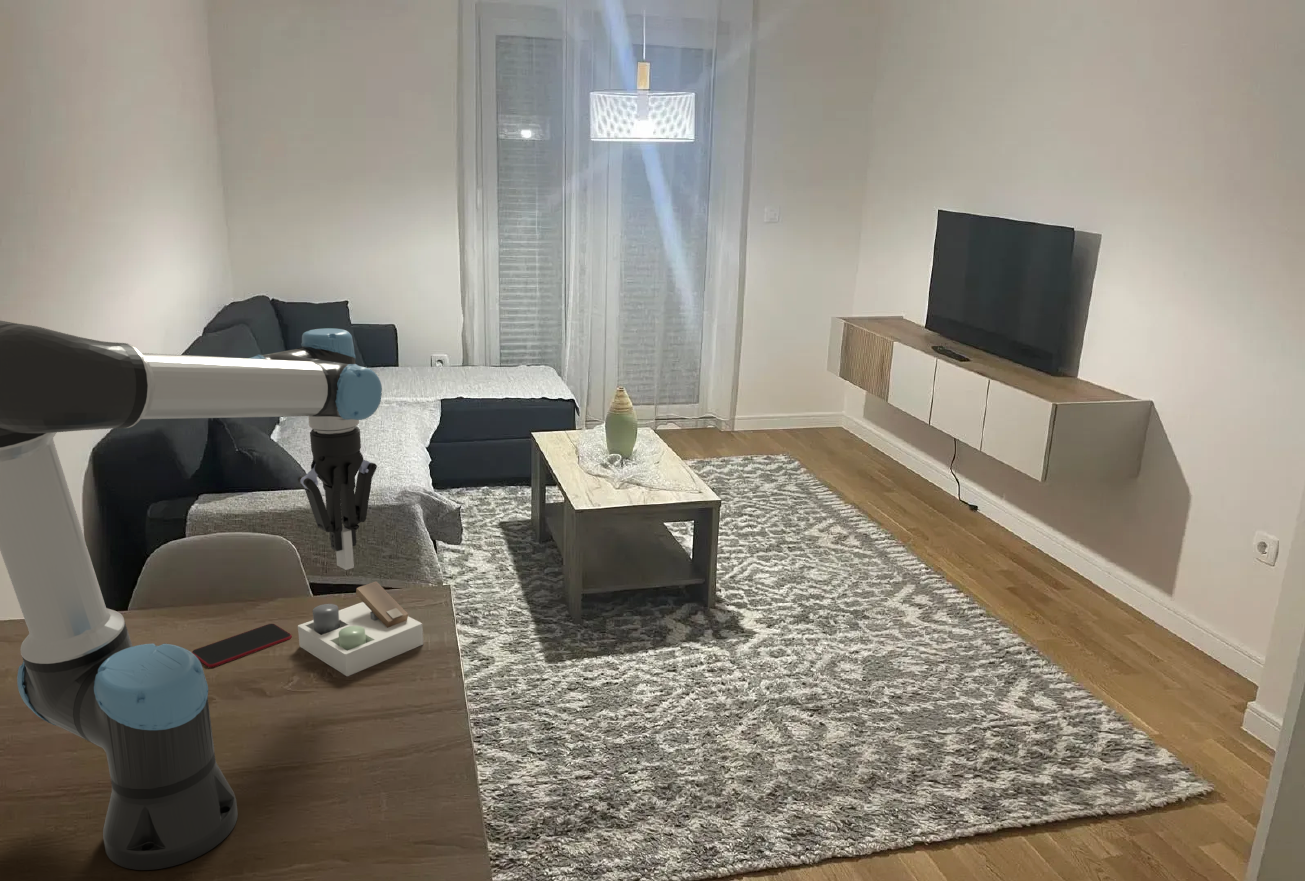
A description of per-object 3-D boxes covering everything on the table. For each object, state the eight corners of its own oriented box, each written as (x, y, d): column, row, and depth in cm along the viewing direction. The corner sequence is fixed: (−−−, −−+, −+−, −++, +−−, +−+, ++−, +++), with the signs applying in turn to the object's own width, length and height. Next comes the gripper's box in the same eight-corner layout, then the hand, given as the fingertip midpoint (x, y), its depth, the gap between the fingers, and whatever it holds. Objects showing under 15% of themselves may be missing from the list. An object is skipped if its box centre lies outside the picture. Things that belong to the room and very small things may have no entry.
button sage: (349, 661, 162) (347, 640, 161) (335, 653, 165) (333, 631, 164) (371, 652, 165) (369, 631, 164) (357, 644, 168) (355, 623, 167)
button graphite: (322, 637, 167) (320, 617, 166) (309, 630, 169) (307, 609, 168) (344, 629, 170) (343, 608, 169) (331, 621, 172) (329, 601, 171)
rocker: (387, 627, 169) (388, 621, 168) (355, 594, 174) (356, 587, 173) (407, 620, 171) (408, 613, 171) (375, 587, 176) (376, 580, 176)
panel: (347, 676, 161) (344, 647, 159) (299, 646, 170) (297, 618, 169) (423, 644, 171) (421, 616, 170) (374, 617, 181) (372, 591, 179)
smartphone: (293, 635, 173) (209, 665, 162) (293, 640, 173) (210, 670, 163) (272, 622, 178) (189, 651, 167) (273, 626, 178) (190, 655, 167)
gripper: (308, 440, 147) (321, 585, 154) (384, 424, 157) (392, 561, 163) (283, 430, 152) (297, 571, 159) (358, 416, 161) (367, 549, 168)
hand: (345, 566), depth 161 cm, fingers closed
